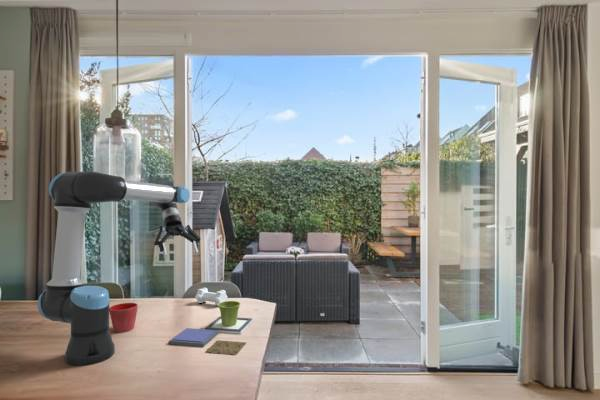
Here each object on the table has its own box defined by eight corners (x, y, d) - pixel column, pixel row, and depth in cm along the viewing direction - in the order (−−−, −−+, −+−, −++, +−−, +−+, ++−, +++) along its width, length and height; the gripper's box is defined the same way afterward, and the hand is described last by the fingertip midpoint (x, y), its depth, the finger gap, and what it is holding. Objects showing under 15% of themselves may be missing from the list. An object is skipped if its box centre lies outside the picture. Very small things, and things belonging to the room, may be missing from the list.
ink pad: (203, 346, 138) (203, 342, 138) (168, 344, 141) (168, 340, 141) (218, 333, 152) (218, 329, 152) (186, 331, 155) (186, 327, 155)
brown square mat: (247, 343, 143) (247, 340, 143) (236, 356, 131) (236, 353, 131) (217, 341, 145) (217, 338, 145) (204, 354, 133) (204, 351, 133)
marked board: (240, 334, 151) (240, 330, 151) (203, 331, 154) (203, 328, 154) (253, 321, 167) (253, 318, 167) (219, 318, 170) (219, 316, 170)
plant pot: (244, 323, 161) (244, 303, 161) (226, 329, 154) (226, 308, 154) (231, 319, 167) (231, 299, 167) (213, 324, 161) (213, 304, 161)
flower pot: (105, 329, 156) (104, 306, 156) (131, 323, 165) (131, 301, 164) (115, 336, 149) (115, 311, 149) (142, 328, 157) (142, 305, 157)
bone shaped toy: (227, 305, 194) (228, 289, 195) (217, 308, 186) (218, 291, 187) (204, 302, 200) (205, 286, 201) (193, 304, 193) (194, 288, 193)
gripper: (196, 223, 187) (206, 257, 174) (142, 225, 173) (150, 263, 160) (199, 213, 182) (211, 247, 170) (145, 214, 168) (153, 252, 156)
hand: (181, 255), depth 165 cm, fingers open, 13 cm apart
